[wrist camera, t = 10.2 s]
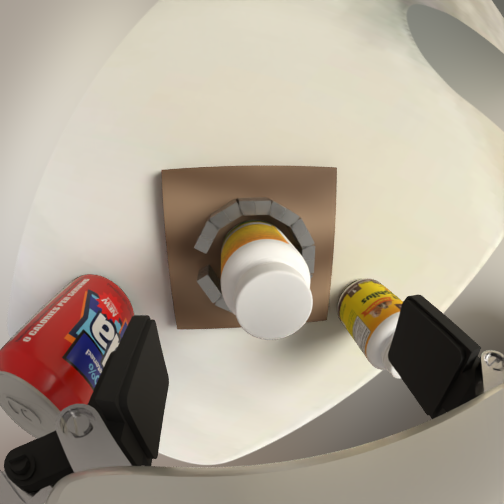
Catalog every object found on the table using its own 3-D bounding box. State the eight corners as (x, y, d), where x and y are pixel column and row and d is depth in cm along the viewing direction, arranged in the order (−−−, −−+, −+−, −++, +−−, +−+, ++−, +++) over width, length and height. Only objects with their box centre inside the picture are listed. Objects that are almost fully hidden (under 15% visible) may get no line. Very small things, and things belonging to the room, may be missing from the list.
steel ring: (194, 199, 21) (191, 203, 19) (307, 197, 22) (316, 200, 20) (202, 304, 24) (200, 318, 22) (303, 299, 25) (310, 311, 22)
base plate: (164, 170, 22) (161, 170, 20) (331, 167, 23) (336, 167, 22) (178, 322, 26) (177, 329, 24) (322, 314, 27) (326, 320, 26)
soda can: (68, 262, 23) (-32, 344, 9) (140, 281, 24) (69, 397, 10) (71, 328, 25) (3, 424, 11) (135, 348, 26) (92, 467, 12)
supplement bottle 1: (207, 254, 23) (197, 314, 13) (252, 204, 22) (273, 232, 13) (256, 293, 24) (275, 366, 15) (299, 247, 23) (345, 299, 14)
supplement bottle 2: (387, 275, 26) (449, 322, 17) (376, 322, 28) (426, 378, 18) (339, 276, 26) (393, 333, 16) (331, 326, 27) (372, 393, 18)
